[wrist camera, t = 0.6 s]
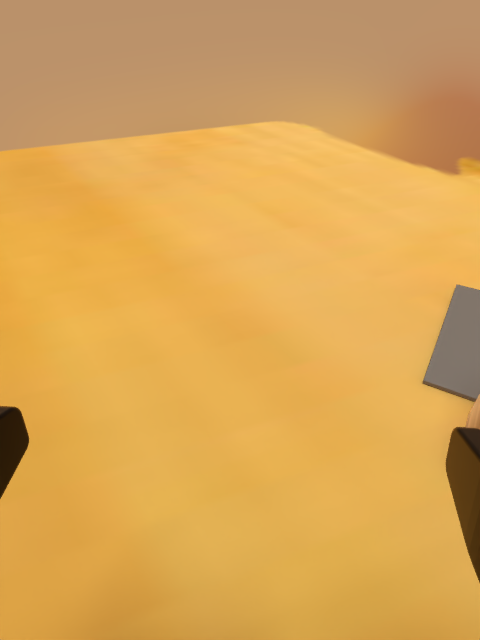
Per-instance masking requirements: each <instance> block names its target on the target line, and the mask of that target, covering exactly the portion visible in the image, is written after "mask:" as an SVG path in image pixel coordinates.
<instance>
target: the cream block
mask: <svg viewBox="0 0 480 640" xmlns="http://www.w3.org/2000/svg"><path fill="white" fill-rule="evenodd" d="M466 427H467V428H478V429H480V394H479V396H478V398H477V400H476V401H475V403H474V405H473V407H472V409H471V411H470V413H469V415H468V419H467V424H466Z"/></svg>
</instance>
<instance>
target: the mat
mask: <svg viewBox="0 0 480 640" xmlns="http://www.w3.org/2000/svg"><path fill="white" fill-rule="evenodd" d="M423 383H424V384H426V385H429V386H432V387H435V388H438V389H441V390H443V391H446V392H449V393H452V394H455V395H458V396H460V397H463V398H466V399H469V400H472V401H474V402H475V401H476V400H477V398H478V396H479V394H480V290H477V289H473V288H469V287H465V286H461V285H457V286H456V288H455V291H454V294H453V297H452V300H451V303H450V306H449V308H448V311H447V314H446V317H445V320H444V323H443V326H442V329H441V332H440V334H439V337H438V340H437V343H436V346H435V349H434V352H433V355H432V357H431V360H430V363H429V366H428V369H427V372H426V375H425V378H424V380H423Z"/></svg>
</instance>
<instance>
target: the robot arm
mask: <svg viewBox="0 0 480 640" xmlns="http://www.w3.org/2000/svg"><path fill="white" fill-rule="evenodd" d="M28 444H29V436H28V432H27V429H26V426H25V423H24V419H23V416H22V413H21V411H20V410H19V409H18V408H16V407H8V406H0V499H1V497H2V495H3V493H4V491H5V489H6V487H7V485H8V484H9V482H10V480H11V478H12V476H13V474H14V472H15V470H16V468H17V467H18V465H19V463H20V461H21V459H22V457H23V455H24V453H25V451H26V450H27V447H28ZM446 472H447V476H448V480H449V484H450V488H451V491H452V495H453V499H454V502H455V506H456V510H457V514H458V517H459V521H460V525H461V528H462V532H463V536H464V539H465V543H466V546H467V550H468V553H469V556H470V559H471V561H472V564H473V567H474V569H475V572H476V575H477V577H478V580H479V582H480V429H478V428H467V427H456V428H455V429H453V431H452V434H451V438H450V443H449V448H448V453H447V458H446Z"/></svg>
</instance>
